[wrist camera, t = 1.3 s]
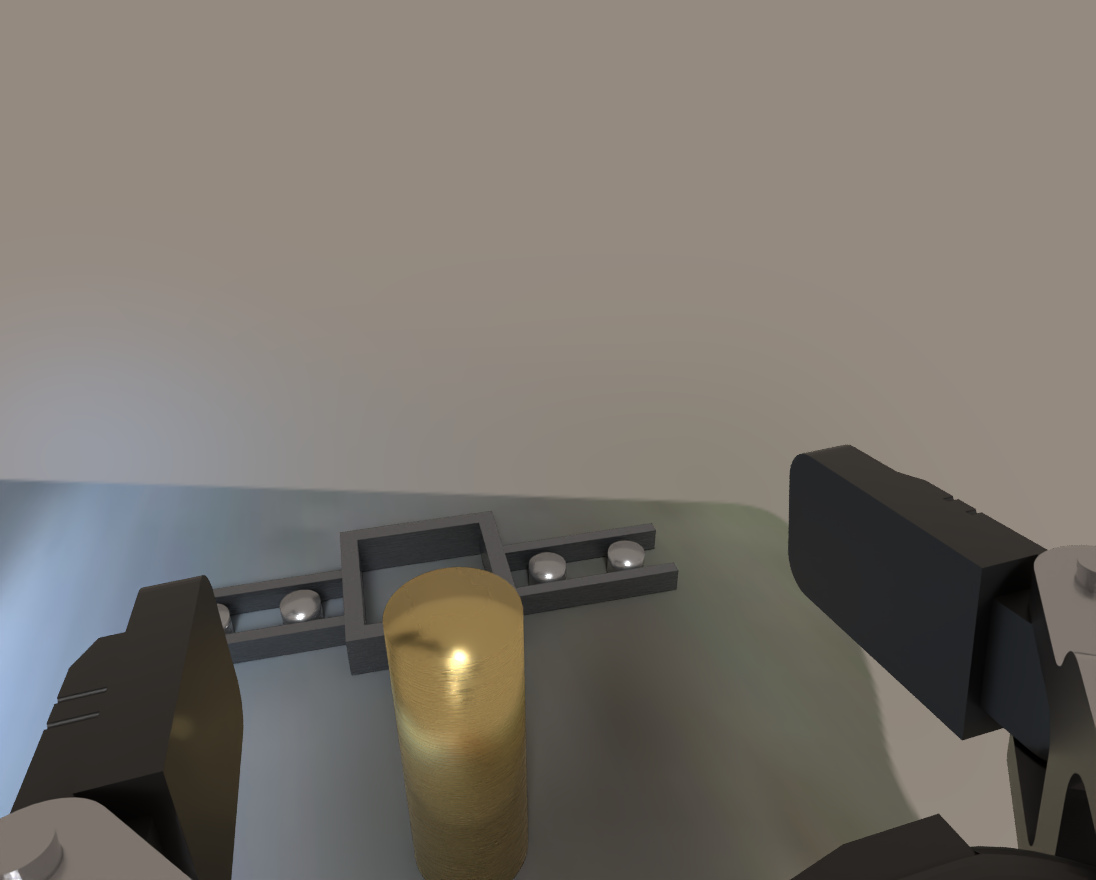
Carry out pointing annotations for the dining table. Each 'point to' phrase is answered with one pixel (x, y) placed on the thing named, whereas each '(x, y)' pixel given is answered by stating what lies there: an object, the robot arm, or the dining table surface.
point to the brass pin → (461, 721)
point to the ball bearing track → (425, 545)
